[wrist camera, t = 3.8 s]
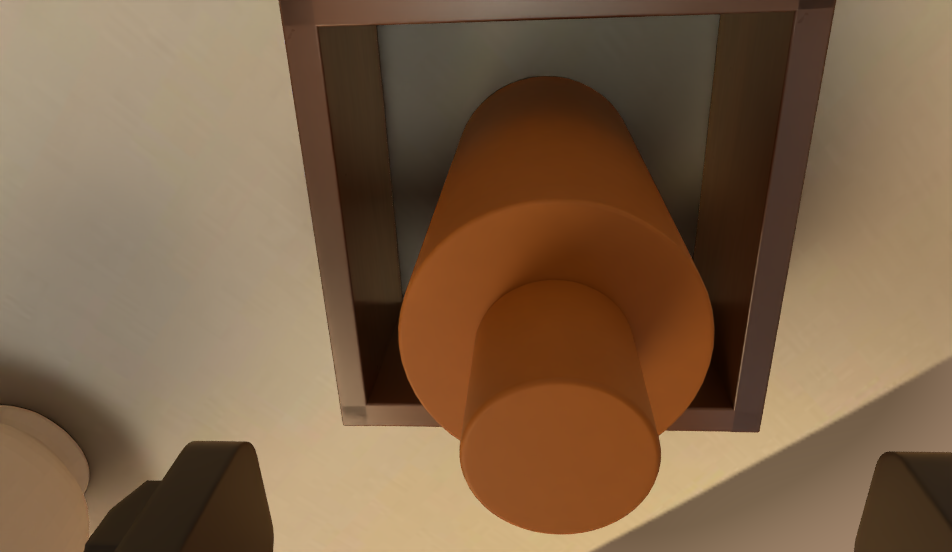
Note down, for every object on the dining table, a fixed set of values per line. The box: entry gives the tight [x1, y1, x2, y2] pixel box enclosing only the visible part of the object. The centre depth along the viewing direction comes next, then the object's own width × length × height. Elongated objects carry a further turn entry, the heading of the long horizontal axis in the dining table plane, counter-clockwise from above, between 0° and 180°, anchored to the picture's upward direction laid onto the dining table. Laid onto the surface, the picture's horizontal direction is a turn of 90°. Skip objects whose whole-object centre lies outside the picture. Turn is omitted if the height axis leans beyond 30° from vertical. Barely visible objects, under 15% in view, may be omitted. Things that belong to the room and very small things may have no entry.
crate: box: [279, 0, 836, 432], centre depth 19 cm, size 12×12×6 cm
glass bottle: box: [398, 76, 715, 534], centre depth 16 cm, size 6×6×14 cm
